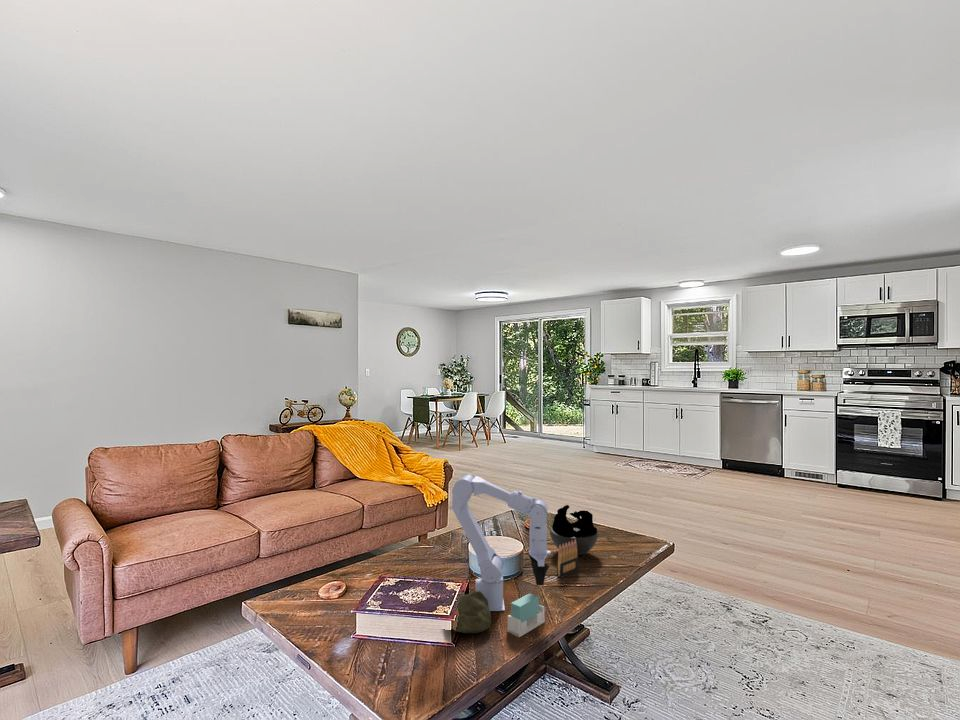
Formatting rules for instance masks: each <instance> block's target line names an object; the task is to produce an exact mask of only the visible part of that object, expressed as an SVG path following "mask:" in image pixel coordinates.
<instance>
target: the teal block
mask: <svg viewBox="0 0 960 720" xmlns="http://www.w3.org/2000/svg"><path fill="white" fill-rule="evenodd" d="M539 599H540V598H539V596H538V595H535V594H532V593H527V594H526V595H524V596H522V597H520V598H518V599H516V600H514V601H512V602H510V615H511V616H513V617H515V618H517V619H519V620H521V623H522V622H524V621H525V620H527V619H529V618H531V617H532V616H534V615H536V614H538V613H539V603H540V600H539Z"/></svg>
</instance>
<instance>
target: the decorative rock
mask: <svg viewBox="0 0 960 720" xmlns="http://www.w3.org/2000/svg"><path fill="white" fill-rule="evenodd" d="M458 596H459V602H458V606H457V608H458V611H459V616H458V622H457V627H456V631H455V632H457V633H458V632H459V633H462V634H479V633H482V632H484V631H486V630H488V629H490V627H491V623H492V616H491V615H492V614H491V611H490V609H489V607H488V600H487V598H485V596H484V595H483V594H482V593H481V592H480V591H478V592H476V591H473V592H471V593H468V594H460V595H458Z"/></svg>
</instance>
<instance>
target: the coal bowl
mask: <svg viewBox="0 0 960 720" xmlns="http://www.w3.org/2000/svg"><path fill="white" fill-rule="evenodd" d="M569 509H570V505H569V504H565V505H563V507H560V508H558V509H557V510H556V512H557V513H556V514H555V515H554V518H553V523H552V526H551V527H550V528H549V534H550V538H551V541H552V542H553V544H554V546H555V547H556V548H557V549H558V550H559V545H561V548H562V544H563V543H564V546H565V543H566V542H567V545H568V542H569V541H570V545H571V541H572V540H573V544H574V540H575V539H576V543H577V557H578V556H581V555H585V554H587V553H589V551H591V550H592V549H593V547H594V546H595V544H596V543H597V541H598V537H599V531H598V529H597V527H596V526H594V521H593V513H591V512H590V511H589V510H579V511H573V512H569V515H570V516H572V517H573V518H575V519H577V520H576V521H575V522H570V521H569V520H568V519H567V514H568V513H567V512H568V510H569Z"/></svg>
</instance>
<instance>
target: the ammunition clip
mask: <svg viewBox="0 0 960 720" xmlns="http://www.w3.org/2000/svg"><path fill="white" fill-rule="evenodd" d="M577 571H579V557H578V556H577V543H576V539H575V540H574V544H573V540H572V541H571V545H570V541H569V542H568V545H567V542H566V543H565V546H564V543H563V544H562V548H561V545H559V549H558V555H557V563H556V577H559V578H562V577H566V576H568V575H570V574H573V573H575V572H577Z"/></svg>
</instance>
